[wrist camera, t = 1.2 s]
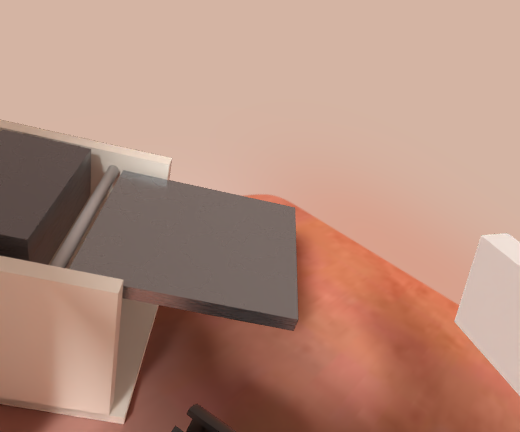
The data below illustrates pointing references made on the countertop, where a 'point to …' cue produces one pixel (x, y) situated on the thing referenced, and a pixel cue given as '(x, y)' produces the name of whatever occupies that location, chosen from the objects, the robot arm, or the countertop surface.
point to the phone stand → (204, 421)
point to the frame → (74, 309)
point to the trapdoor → (152, 234)
